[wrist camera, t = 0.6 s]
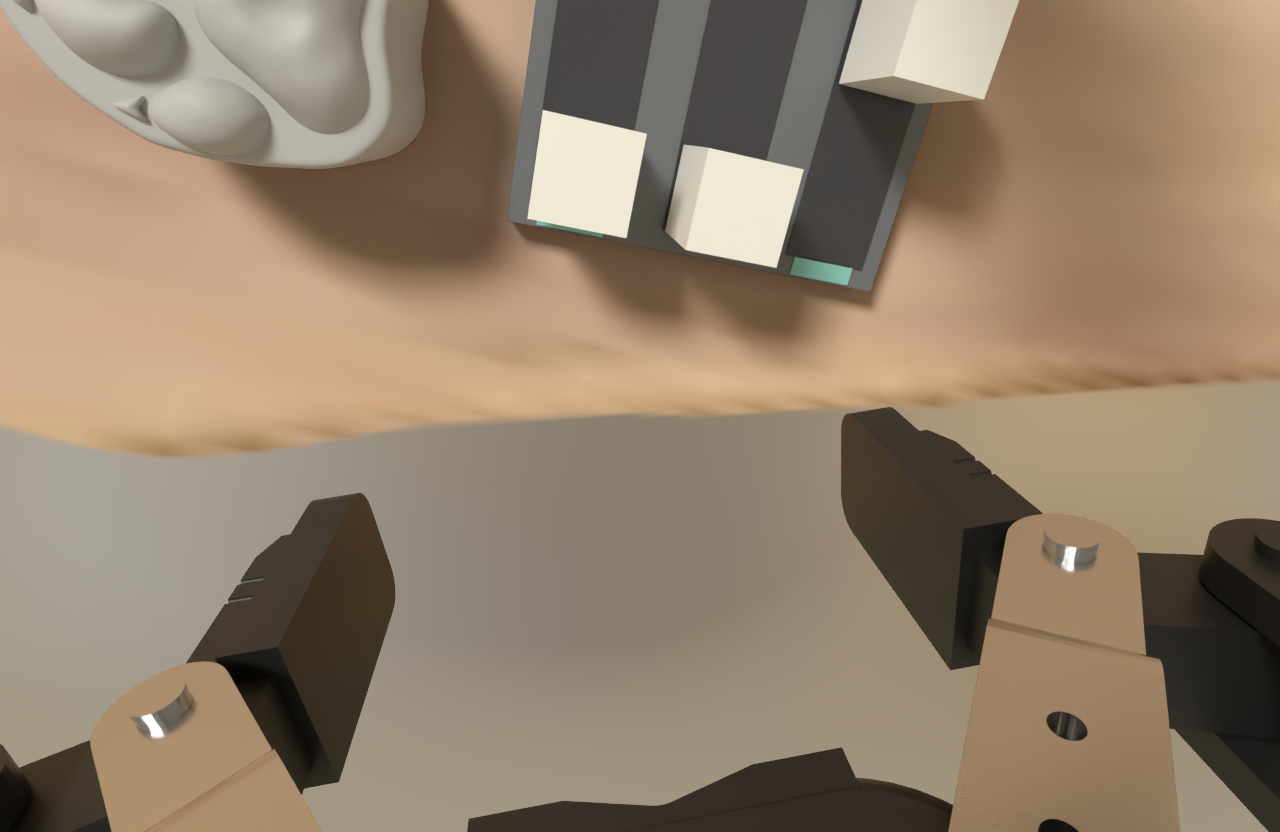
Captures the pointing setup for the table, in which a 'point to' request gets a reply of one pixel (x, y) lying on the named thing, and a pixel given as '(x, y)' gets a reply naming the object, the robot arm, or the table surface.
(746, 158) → the tab middle
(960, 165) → the table surface
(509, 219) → the switch bank
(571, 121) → the tab
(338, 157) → the paw print plaque
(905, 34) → the tab
